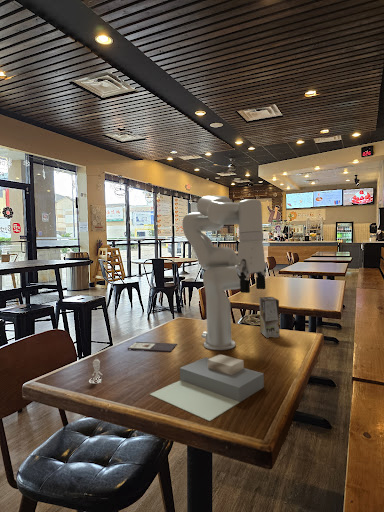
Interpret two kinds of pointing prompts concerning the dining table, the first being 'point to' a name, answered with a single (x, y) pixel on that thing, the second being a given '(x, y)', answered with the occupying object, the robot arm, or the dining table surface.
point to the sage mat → (195, 399)
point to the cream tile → (225, 364)
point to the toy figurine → (96, 371)
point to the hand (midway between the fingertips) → (253, 290)
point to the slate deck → (222, 380)
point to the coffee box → (269, 317)
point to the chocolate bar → (153, 346)
